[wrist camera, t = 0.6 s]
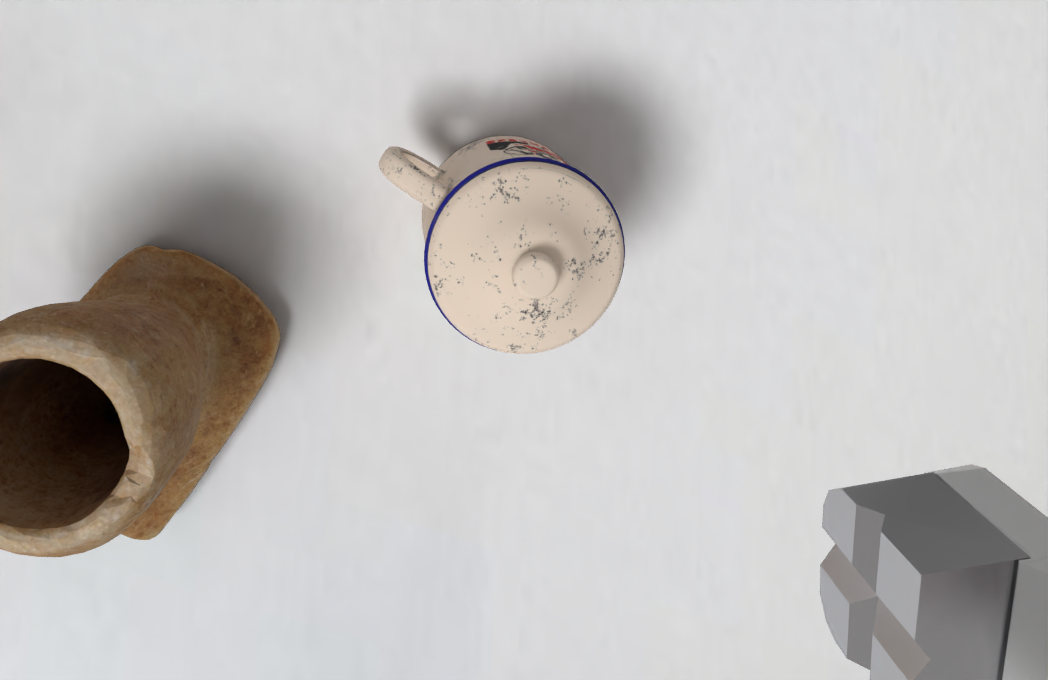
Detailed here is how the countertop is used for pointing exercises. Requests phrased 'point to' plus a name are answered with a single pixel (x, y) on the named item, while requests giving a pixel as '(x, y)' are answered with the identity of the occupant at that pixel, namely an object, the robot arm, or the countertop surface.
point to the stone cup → (124, 399)
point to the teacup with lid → (513, 242)
